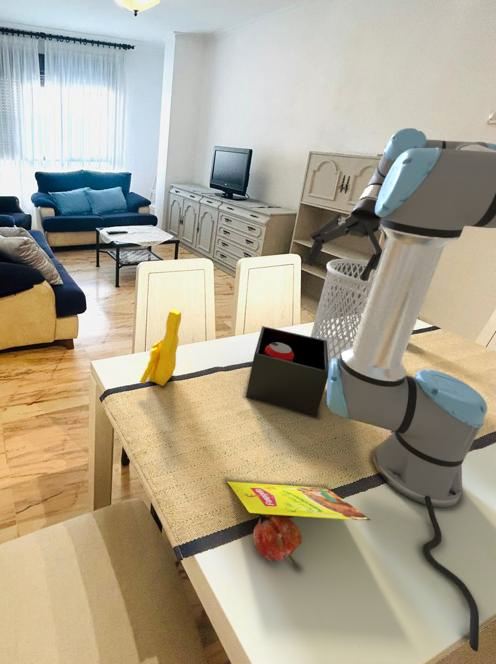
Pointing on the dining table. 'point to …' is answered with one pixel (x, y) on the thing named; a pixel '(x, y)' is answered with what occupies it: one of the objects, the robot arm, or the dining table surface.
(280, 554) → the pomegranate
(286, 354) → the soda can
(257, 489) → the food package
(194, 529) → the dining table surface
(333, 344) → the wastebasket
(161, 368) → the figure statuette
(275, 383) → the bin
